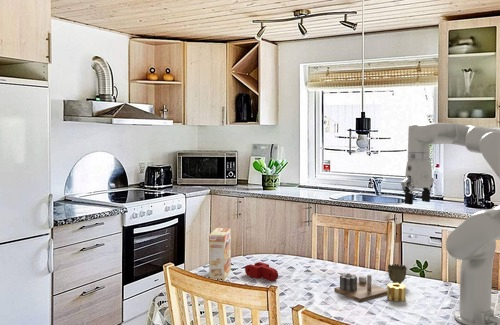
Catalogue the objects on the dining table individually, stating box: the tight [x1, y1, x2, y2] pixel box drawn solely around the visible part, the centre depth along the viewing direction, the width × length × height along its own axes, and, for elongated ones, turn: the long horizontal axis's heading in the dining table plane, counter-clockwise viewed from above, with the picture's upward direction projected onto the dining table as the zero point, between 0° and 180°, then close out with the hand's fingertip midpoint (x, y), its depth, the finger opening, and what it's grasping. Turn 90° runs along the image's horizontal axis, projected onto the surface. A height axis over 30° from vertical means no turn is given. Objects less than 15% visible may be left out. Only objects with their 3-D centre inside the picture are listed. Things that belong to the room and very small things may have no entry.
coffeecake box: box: [208, 227, 232, 281], centre depth 209 cm, size 15×7×20 cm, turn 171°
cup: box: [387, 263, 408, 284], centre depth 194 cm, size 8×7×8 cm
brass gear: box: [386, 282, 407, 302], centre depth 179 cm, size 7×7×5 cm
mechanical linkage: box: [244, 261, 279, 282], centre depth 206 cm, size 16×7×5 cm, turn 42°
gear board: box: [333, 272, 387, 303], centre depth 186 cm, size 14×16×7 cm
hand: (417, 202), depth 177 cm, fingers open, 9 cm apart
